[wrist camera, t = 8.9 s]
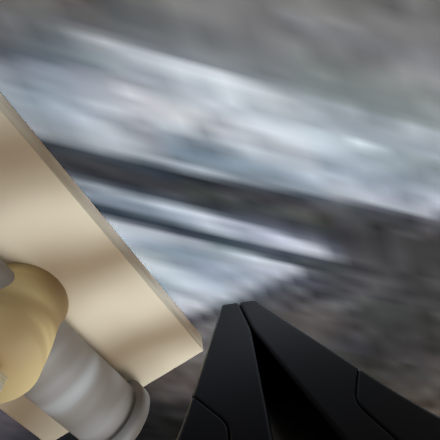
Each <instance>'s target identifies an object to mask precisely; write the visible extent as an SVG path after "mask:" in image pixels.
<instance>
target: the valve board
mask: <svg viewBox="0 0 440 440" xmlns="http://www.w3.org/2000/svg"><path fill="white" fill-rule="evenodd" d="M202 351H203V345H202V339H201V334H200V333H199V332H198V331H197V330H196V328H195V327H194V326H193V325H192V324H191V322H190V321H189V320H188V319H187V318H186V316H185V315H184V314H183V313H182V311H181V310H180V309H179V308H178V307H177V305H176V304H175V303H174V302H173V301H172V299H171V298H170V297H169V296H168V295H167V293H166V292H165V291H164V290H163V288H162V287H161V286H160V285H159V284H158V282H157V281H156V280H155V279H154V278H153V276H152V275H151V274H150V273H149V271H148V270H147V269H146V268H145V267H144V265H143V264H142V263H141V262H140V261H139V259H138V258H137V257H136V256H135V255H134V253H133V252H132V251H131V250H130V248H129V247H128V246H127V245H126V244H125V242H124V241H123V240H122V239H121V238H120V236H119V235H118V234H117V233H116V232H115V230H114V229H113V228H112V227H111V225H110V224H109V223H108V222H107V221H106V219H105V218H104V217H103V216H102V215H101V213H100V212H99V211H98V210H97V209H96V207H95V206H94V205H93V204H92V202H91V201H90V200H89V199H88V198H87V196H86V195H85V194H84V193H83V192H82V190H81V189H80V188H79V187H78V186H77V184H76V183H75V182H74V181H73V179H72V178H71V177H70V176H69V175H68V173H67V172H66V171H65V170H64V169H63V167H62V166H61V165H60V164H59V162H58V161H57V160H56V159H55V158H54V156H53V155H52V154H51V153H50V152H49V150H48V149H47V148H46V147H45V146H44V144H43V143H42V142H41V141H40V139H39V138H38V137H37V136H36V135H35V133H34V132H33V131H32V130H31V129H30V127H29V126H28V125H27V124H26V123H25V121H24V120H23V119H22V118H21V116H20V115H19V114H18V113H17V112H16V110H15V109H14V108H13V107H12V106H11V104H10V103H9V102H8V101H7V100H6V98H5V97H4V96H3V95H2V93H1V92H0V370H1V371H2V372H3V373H4V374H5V375H6V376H8V379H7V380H6V382H5V384H4V386H3V388H2V389H1V391H0V409H1V410H2V411H4V412H5V413H6V414H8V415H9V416H10V417H12V418H13V419H14V420H16V421H17V422H18V423H20V424H21V425H22V426H24V427H25V428H26V429H28V430H29V431H30V432H32V433H33V434H34V435H36V436H37V437H38V438H40V439H41V440H57V439H58V438H60V437H62V436H63V435H65V434H67V433H68V432H70V433H71V434H73V435H74V436H75V437H76V438H78V440H135V439H136V437H137V436H138V434H139V433H140V431H141V429H142V428H143V426H144V424H145V421H146V419H147V416H148V413H149V408H150V396H149V393H148V392H147V390H146V389H145V388H144V386H146V385H147V384H149V383H151V382H152V381H154V380H156V379H157V378H159V377H161V376H162V375H164V374H166V373H167V372H169V371H171V370H172V369H174V368H175V367H177V366H179V365H180V364H182V363H184V362H185V361H187V360H189V359H190V358H192V357H194V356H195V355H197V354H199V353H200V352H202Z"/></svg>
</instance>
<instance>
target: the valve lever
mask: <svg viewBox="0 0 440 440" xmlns="http://www.w3.org/2000/svg"><path fill="white" fill-rule="evenodd" d="M7 379H8V376H6V375H5V374H4V373H3V372H2V371H1V370H0V391H1V389H2V388H3V386H4V384H5V382H6V380H7Z"/></svg>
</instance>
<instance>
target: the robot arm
mask: <svg viewBox="0 0 440 440" xmlns="http://www.w3.org/2000/svg"><path fill="white" fill-rule="evenodd" d="M176 440H440V417H438V416H436V415H435V414H433V413H431V412H429V411H427V410H426V409H424V408H422V407H420V406H419V405H417V404H415V403H413V402H412V401H410V400H408V399H406V398H405V397H403V396H401V395H399V394H398V393H396V392H395V391H393V390H391V389H390V388H388V387H387V386H385V385H383V384H382V383H380V382H379V381H377V380H375V379H374V378H372V377H371V376H369V375H368V374H366V373H365V372H363V371H361V370H359V371H358V368H357V367H355V366H354V365H352V364H351V363H349V362H348V361H346V360H344V359H343V358H341V357H340V356H338V355H337V354H335V353H334V352H332V351H331V350H329V349H328V348H326V347H325V346H323V345H322V344H320V343H318V342H317V341H315V340H314V339H312V338H311V337H309V336H308V335H306V334H305V333H303V332H302V331H300V330H299V329H297V328H296V327H294V326H292V325H291V324H289V323H288V322H286V321H285V320H283V319H282V318H280V317H279V316H277V315H276V314H274V313H273V312H271V311H269V310H268V309H266V308H265V307H263V306H262V305H260V304H259V303H257V302H255V301H249V302H242V303H240V304H239V305H238V304H237V303H235V304H227V305H223V306H222V308H221V311H220V314H219V317H218V320H217V323H216V326H215V329H214V332H213V335H212V338H211V341H210V344H209V347H208V350H207V353H206V356H205V359H204V362H203V365H202V368H201V371H200V374H199V377H198V381H197V384H196V387H195V390H194V393H193V396H192V399H191V401H190V404H189V407H188V410H187V413H186V416H185V419H184V421H183V424H182V427H181V429H180V432H179V435H178V437H177V439H176Z"/></svg>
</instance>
